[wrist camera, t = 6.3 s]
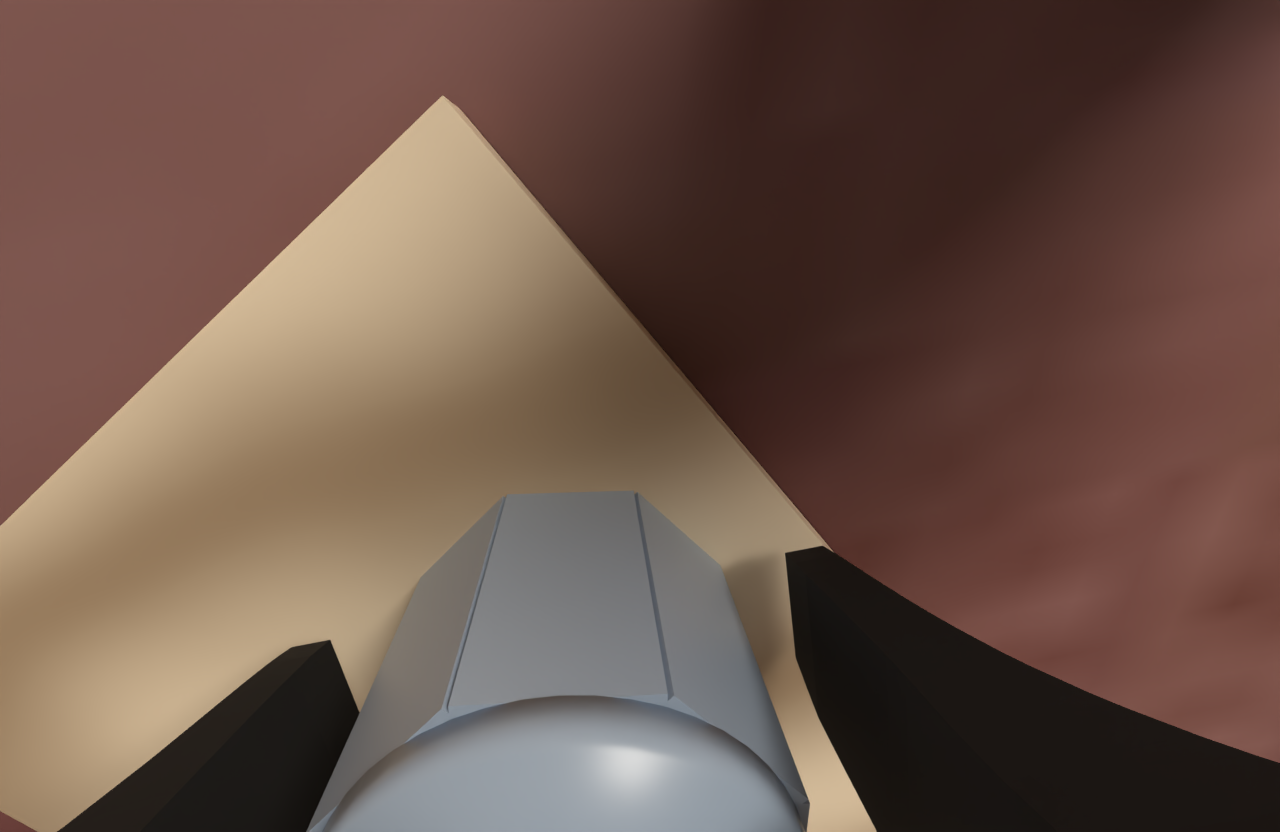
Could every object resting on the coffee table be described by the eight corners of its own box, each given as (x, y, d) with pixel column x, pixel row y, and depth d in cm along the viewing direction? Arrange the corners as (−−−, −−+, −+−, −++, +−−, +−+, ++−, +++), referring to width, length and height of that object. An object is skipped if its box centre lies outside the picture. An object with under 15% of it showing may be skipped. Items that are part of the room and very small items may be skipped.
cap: (728, 484, 10) (856, 730, 5) (714, 733, 12) (803, 1091, 7) (405, 494, 10) (230, 770, 5) (437, 750, 11) (329, 1143, 6)
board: (1059, 820, 15) (1099, 870, 14) (618, 1093, 17) (621, 1157, 16) (460, 110, 9) (442, 94, 8) (-107, 655, 11) (-186, 707, 10)
